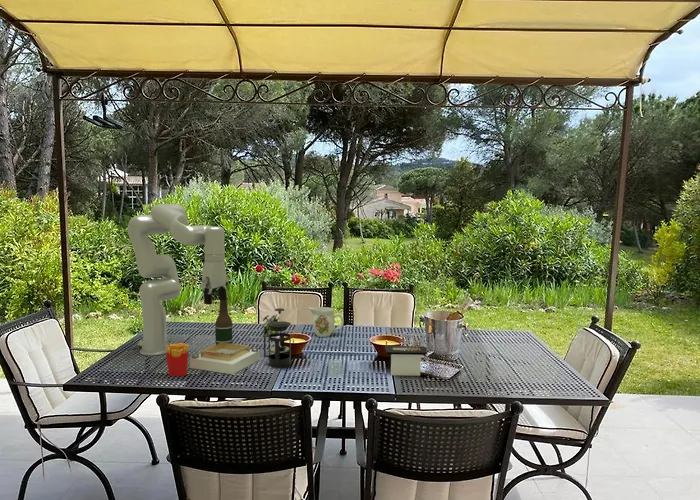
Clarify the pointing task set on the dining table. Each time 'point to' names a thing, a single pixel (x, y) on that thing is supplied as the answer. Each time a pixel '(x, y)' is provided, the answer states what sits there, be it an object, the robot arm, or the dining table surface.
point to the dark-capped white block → (406, 359)
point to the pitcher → (324, 321)
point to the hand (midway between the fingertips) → (215, 301)
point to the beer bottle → (223, 324)
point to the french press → (278, 344)
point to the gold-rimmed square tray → (225, 358)
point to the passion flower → (266, 326)
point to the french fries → (177, 359)
